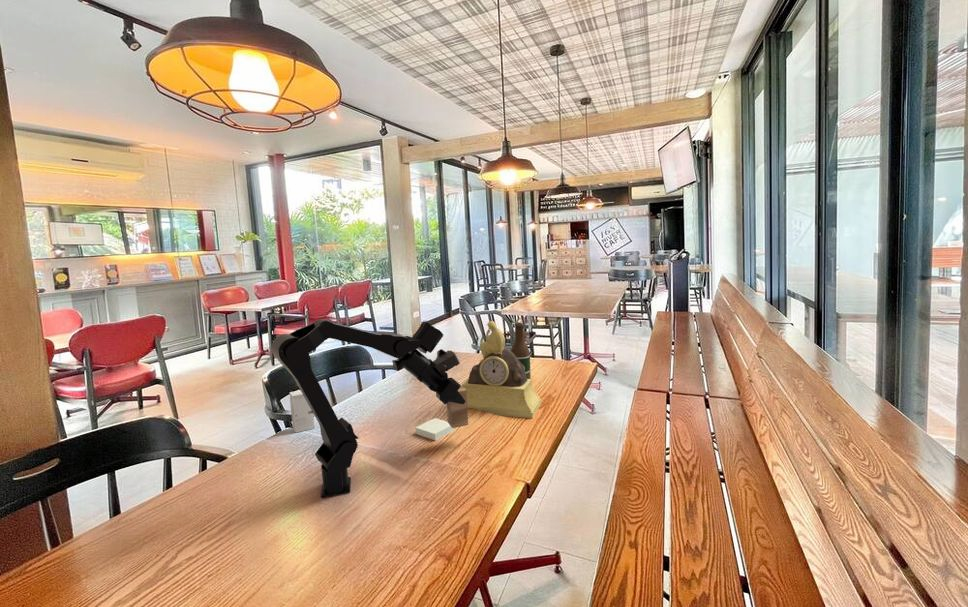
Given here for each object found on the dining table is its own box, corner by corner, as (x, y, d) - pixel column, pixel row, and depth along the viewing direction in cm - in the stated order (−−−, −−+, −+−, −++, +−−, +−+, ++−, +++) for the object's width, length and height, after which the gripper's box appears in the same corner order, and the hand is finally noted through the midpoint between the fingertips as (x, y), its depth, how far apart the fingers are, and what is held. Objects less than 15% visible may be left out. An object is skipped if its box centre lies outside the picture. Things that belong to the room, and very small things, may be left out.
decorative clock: (452, 410, 146) (447, 324, 142) (466, 397, 158) (462, 317, 154) (532, 418, 136) (530, 326, 132) (541, 404, 148) (539, 319, 144)
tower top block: (454, 430, 127) (454, 423, 126) (435, 440, 121) (435, 434, 120) (435, 424, 132) (434, 418, 131) (416, 433, 125) (415, 427, 125)
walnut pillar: (468, 425, 117) (466, 390, 116) (452, 428, 116) (451, 392, 114) (462, 419, 121) (461, 385, 120) (447, 422, 120) (445, 387, 118)
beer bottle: (509, 384, 170) (507, 325, 167) (513, 378, 177) (512, 321, 174) (528, 385, 168) (527, 325, 164) (532, 379, 175) (530, 321, 172)
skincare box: (295, 433, 133) (290, 396, 131) (292, 428, 136) (288, 392, 135) (315, 428, 136) (311, 391, 134) (312, 423, 140) (308, 387, 138)
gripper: (451, 350, 105) (493, 386, 111) (430, 336, 122) (467, 368, 128) (421, 386, 103) (466, 421, 109) (404, 367, 120) (444, 398, 126)
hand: (461, 399), depth 118 cm, fingers closed on walnut pillar, 4 cm apart
